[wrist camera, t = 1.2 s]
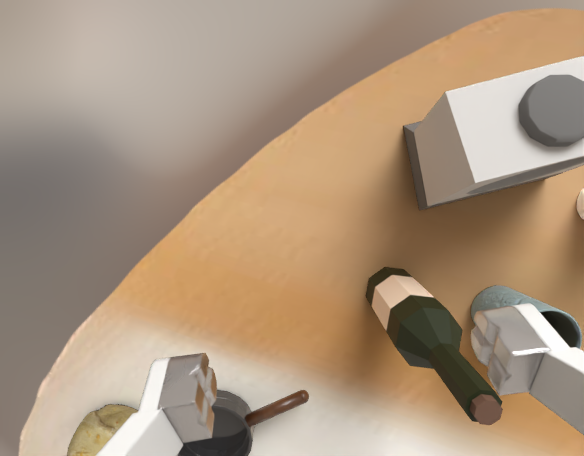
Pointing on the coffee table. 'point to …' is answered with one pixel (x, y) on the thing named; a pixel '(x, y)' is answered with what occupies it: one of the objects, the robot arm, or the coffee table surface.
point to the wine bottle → (430, 339)
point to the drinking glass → (555, 317)
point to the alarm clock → (499, 134)
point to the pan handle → (276, 408)
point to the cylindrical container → (581, 204)
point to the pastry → (98, 429)
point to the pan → (225, 430)
